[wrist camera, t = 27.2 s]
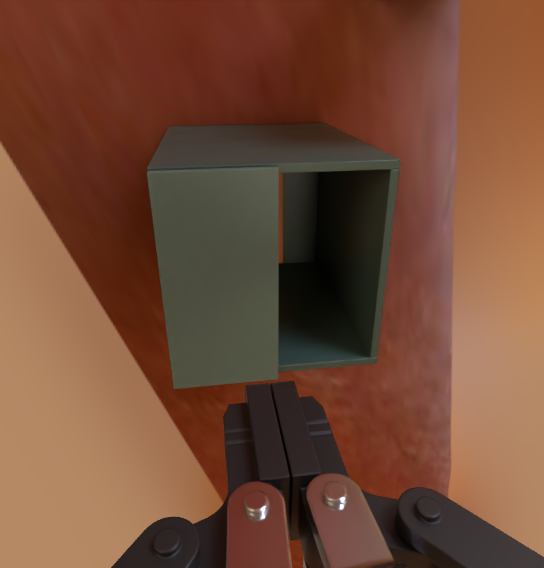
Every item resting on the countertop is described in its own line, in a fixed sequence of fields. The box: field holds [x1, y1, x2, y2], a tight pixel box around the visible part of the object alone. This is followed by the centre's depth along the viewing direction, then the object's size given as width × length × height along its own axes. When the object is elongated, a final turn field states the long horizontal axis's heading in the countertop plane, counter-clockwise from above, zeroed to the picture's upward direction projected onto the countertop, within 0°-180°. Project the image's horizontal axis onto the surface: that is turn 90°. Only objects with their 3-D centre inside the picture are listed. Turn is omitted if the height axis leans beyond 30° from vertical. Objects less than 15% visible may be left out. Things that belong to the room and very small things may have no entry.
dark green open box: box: [147, 123, 400, 372], centre depth 33 cm, size 13×13×16 cm
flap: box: [147, 166, 279, 389], centre depth 25 cm, size 6×13×1 cm, turn 0°
